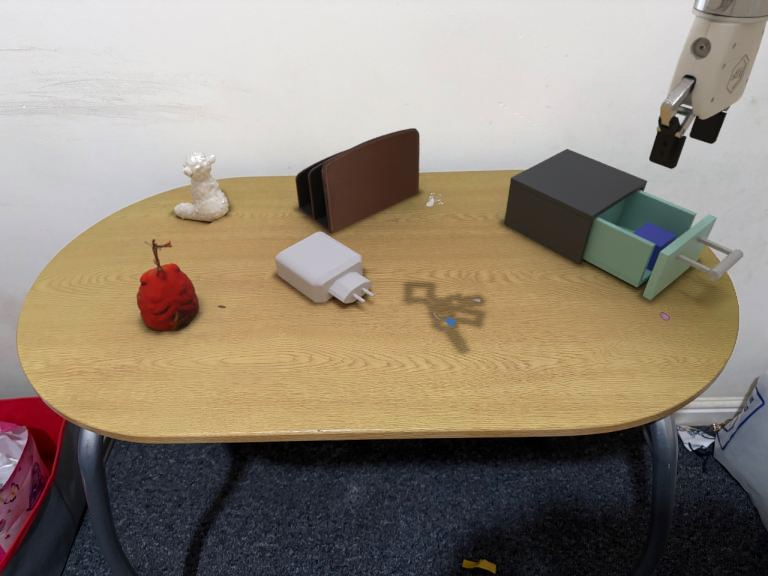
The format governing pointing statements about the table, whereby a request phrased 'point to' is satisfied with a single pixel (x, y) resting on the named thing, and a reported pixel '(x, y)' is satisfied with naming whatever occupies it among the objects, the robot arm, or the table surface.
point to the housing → (565, 200)
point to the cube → (655, 240)
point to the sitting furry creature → (202, 191)
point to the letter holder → (360, 180)
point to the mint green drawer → (632, 253)
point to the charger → (323, 269)
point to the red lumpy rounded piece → (166, 295)
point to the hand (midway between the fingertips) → (682, 151)
